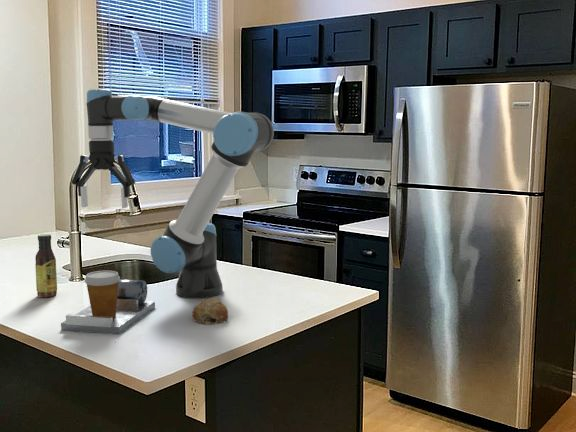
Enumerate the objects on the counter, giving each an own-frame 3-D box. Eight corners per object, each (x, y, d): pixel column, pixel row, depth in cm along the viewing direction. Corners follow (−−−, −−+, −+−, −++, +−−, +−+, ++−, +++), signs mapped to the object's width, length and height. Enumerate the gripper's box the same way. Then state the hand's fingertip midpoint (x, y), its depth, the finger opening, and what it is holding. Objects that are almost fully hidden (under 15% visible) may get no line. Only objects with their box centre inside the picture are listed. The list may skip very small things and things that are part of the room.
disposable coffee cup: (119, 309, 189) (117, 268, 187) (123, 318, 180) (121, 276, 178) (85, 312, 185) (83, 271, 184) (87, 322, 177) (85, 279, 175)
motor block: (155, 307, 197) (154, 278, 196) (118, 335, 173) (116, 302, 171) (103, 304, 201) (102, 275, 199) (59, 331, 176) (57, 298, 175)
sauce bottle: (50, 298, 207) (46, 237, 203) (33, 297, 208) (28, 236, 205) (61, 293, 213) (58, 233, 210) (44, 292, 214) (40, 232, 211)
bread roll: (194, 336, 182) (195, 315, 178) (189, 312, 190) (190, 291, 186) (229, 333, 185) (231, 312, 181) (222, 309, 193) (224, 288, 189)
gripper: (143, 139, 204) (146, 206, 208) (70, 139, 209) (74, 204, 212) (134, 140, 197) (137, 209, 200) (58, 140, 201) (62, 207, 205)
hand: (104, 207), depth 206 cm, fingers open, 13 cm apart
